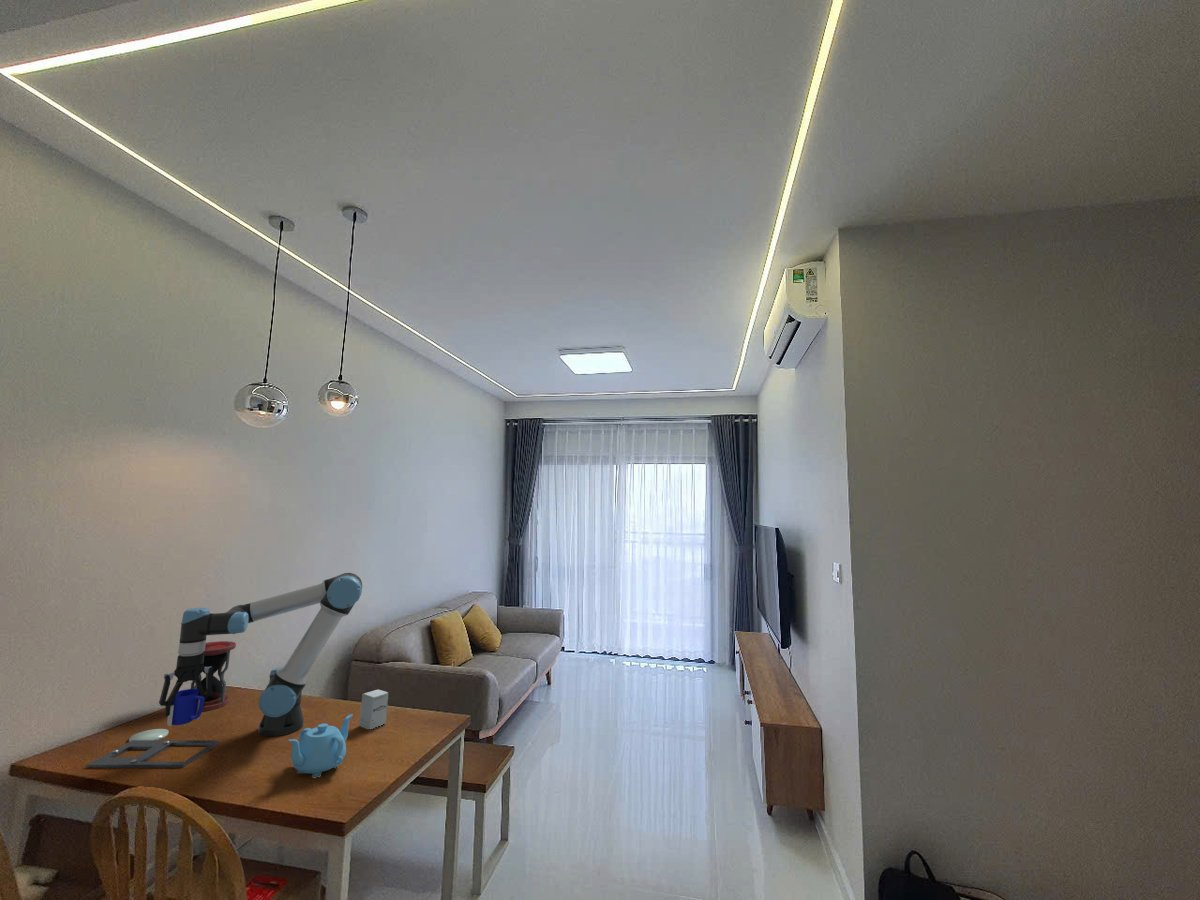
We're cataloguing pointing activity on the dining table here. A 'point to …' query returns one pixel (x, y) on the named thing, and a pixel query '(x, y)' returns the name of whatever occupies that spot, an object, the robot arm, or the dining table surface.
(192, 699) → the mug
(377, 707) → the supplement box
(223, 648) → the hourglass
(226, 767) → the dining table surface
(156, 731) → the pale grey rounded piece
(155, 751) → the gray cutout board
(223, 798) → the dining table surface
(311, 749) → the teapot
